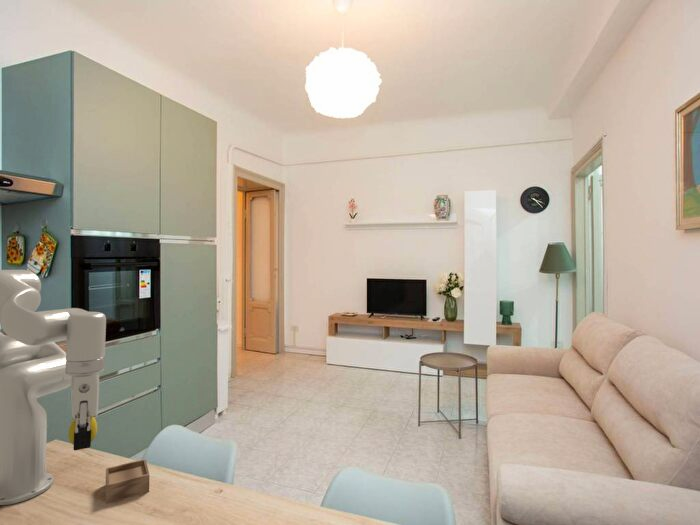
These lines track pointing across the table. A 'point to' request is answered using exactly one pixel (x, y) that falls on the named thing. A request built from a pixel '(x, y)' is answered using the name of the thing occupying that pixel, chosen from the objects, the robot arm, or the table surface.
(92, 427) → the lemon
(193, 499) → the table surface
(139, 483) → the walnut tray
